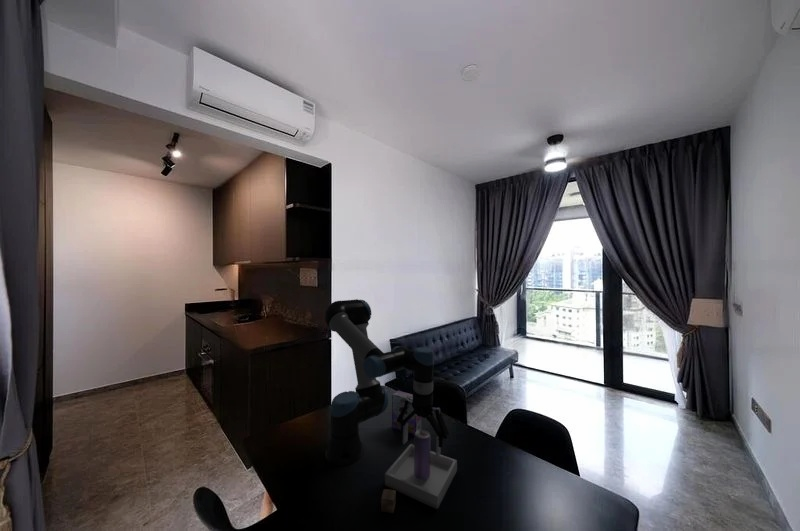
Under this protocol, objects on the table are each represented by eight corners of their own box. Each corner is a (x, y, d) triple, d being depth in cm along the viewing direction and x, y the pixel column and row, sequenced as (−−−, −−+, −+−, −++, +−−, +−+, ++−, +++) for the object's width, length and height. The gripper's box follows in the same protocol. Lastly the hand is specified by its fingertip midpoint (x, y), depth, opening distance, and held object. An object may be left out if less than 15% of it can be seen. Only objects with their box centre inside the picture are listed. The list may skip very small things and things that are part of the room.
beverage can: (425, 483, 96) (426, 440, 97) (411, 476, 99) (411, 434, 100) (432, 473, 101) (433, 432, 102) (418, 467, 104) (419, 427, 105)
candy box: (421, 431, 131) (422, 396, 131) (415, 437, 126) (416, 400, 126) (397, 422, 138) (398, 389, 139) (391, 427, 133) (391, 393, 134)
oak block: (381, 511, 86) (381, 498, 86) (383, 501, 90) (384, 488, 90) (393, 513, 85) (393, 500, 85) (395, 502, 89) (395, 490, 89)
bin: (384, 485, 96) (384, 473, 97) (410, 453, 114) (410, 443, 114) (437, 509, 87) (437, 496, 87) (456, 471, 104) (456, 460, 104)
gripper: (389, 386, 104) (387, 442, 104) (451, 403, 92) (449, 467, 92) (399, 379, 111) (397, 432, 111) (458, 395, 99) (456, 454, 98)
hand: (421, 448), depth 101 cm, fingers open, 13 cm apart
